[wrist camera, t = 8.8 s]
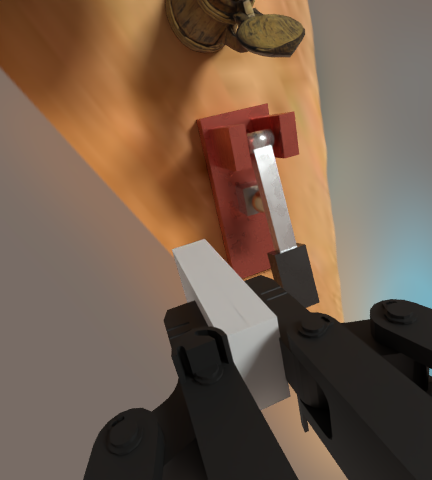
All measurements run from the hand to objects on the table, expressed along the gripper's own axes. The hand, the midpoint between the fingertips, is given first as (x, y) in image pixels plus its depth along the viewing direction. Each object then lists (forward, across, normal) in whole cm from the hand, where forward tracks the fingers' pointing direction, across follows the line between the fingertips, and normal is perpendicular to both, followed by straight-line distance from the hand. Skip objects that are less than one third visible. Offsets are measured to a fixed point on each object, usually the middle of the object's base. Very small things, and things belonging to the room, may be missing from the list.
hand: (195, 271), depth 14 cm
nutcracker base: (+32, +15, -6) cm, 36 cm away
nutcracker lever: (+23, +15, -8) cm, 29 cm away
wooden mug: (+33, +14, +16) cm, 39 cm away
